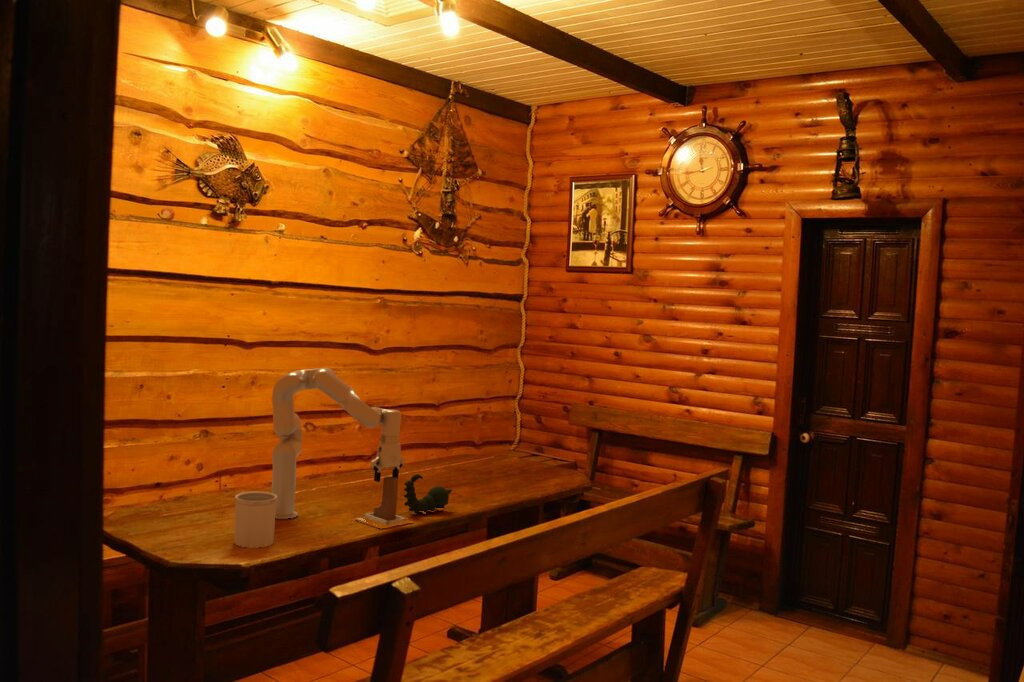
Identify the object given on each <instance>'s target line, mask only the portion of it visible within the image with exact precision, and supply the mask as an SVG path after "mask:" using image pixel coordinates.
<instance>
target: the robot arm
mask: <svg viewBox="0 0 1024 682" xmlns="http://www.w3.org/2000/svg"><path fill="white" fill-rule="evenodd" d="M314 389H318V390H319V391H320V392H322V393H324V394H325V396H327V397H329V398H330V399H331V400H333V401H334V402H336V403H337V404H338V405H339V406H340V407H341V408H342V409H343V410H344V411H346V412H347V413H348V414H349V415H350V416H351V417H352V418H354V419H355V420H356V421H358V422H359V423H360V424H362V425H363V426H364V427H367V428H371V429H373V428H376V427H378V426H380V425H381V431H380V437H378V439H379V441H380V442H379V443H378V447H377V451H376V457H375V458H374V459H373V460H371V461H370V465H371V469H373V470H372V471H373V472H374V473H373V475H374V477H373V482H377V483H380V482H381V475H382V473H381V471H382V469H391V468H393V469H392V473H391V476H392V477H396V478H398V479H399V473H400V470H401V468H402V467H403V464H404V462H405V458H404V457H402V448H401V447H402V446H401V443H400V433H401V430H400V429H401V422H402V412H401V411H400V410H398V409H391V408H390V409H385V408H382V407H378V406H377V407H376V406H369V405H368V404H367V403H365V402H364V401H363V400H362V399H361V398H360V397H359V396H358V394H357V393H356V391H355V390H354V388H353V387H351V386H350V385H349V384H347V383H346V382H344V381H343V380H342V379H340V377H338V376H337V375H336V372H335V371H334V370H333V368H330V367H318V368H311V369H310V368H309V369H300V370H299V369H297V370H294V371H291V372H288V373H287V374H284V375H283V376H281V377H280V378H279V379H278V380H277V381H276V382H275V384H274V385H273V389H272V397H271V398H272V425H273V427H272V428H273V431H274V433H275V434H276V435H277V436H278V440H279V441H278V442H277V443H276V444H275V445H274V447H273V449H272V454H271V455H272V456H271V457H272V458H271V459H272V460H271V461H272V474H271V475H272V476H271V477H272V478H271V492H270V493H274V494H276V495H277V501H276V513H275V518H276V519H275V520H289V519H288V518H291V519H295V518H297V517H298V516H299V515H298V513H299V512H297V511H296V510H295V501H296V499H295V498H296V488H297V487H296V486H297V485H296V483H297V458H298V457H299V456H300V454H301V453H302V450H303V438H302V437H303V436H302V435H303V433H302V422H301V418H300V417H299V414H298V413H296V412H295V403H294V401H295V400H294V394H296V393H297V392H301V391H304V390H305V391H306V390H314ZM297 515H298V516H297ZM296 516H297V517H296ZM294 517H295V518H294Z"/></svg>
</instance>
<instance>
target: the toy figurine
mask: <svg viewBox="0 0 1024 682" xmlns="http://www.w3.org/2000/svg"><path fill="white" fill-rule="evenodd" d="M419 479H421V480H423V475H421V474H419V473H418V474H414V475H412V476H411V478H410V479H409V480H407V481H406V482H404V486H406V487H404V489H403V490H404V492H405V494H404V495H403V497H404V498H405V499H406V501H405V502H404V506H405V507H409V508H408V511H409V512H410V511H412V512H413V513H414V512H415V513H417V514H419V511H424V512H426V511H427V510H431V511H434V510H435V511H437V509H436V508H444V509H445V506H447V505H448V504H449V499H450V496H449V495H450V494H451V492H452V491H453V489H446V488H444V487H443V486H441V485H440V486H434V487H432V488H431V489H429V491H428V492H427V495H424V496H423V497H422V498H420V499H418V498H417V494H416V492H415V491H416V487H415V482H416V481H418V480H419ZM427 512H428V511H427ZM415 513H414V514H415Z"/></svg>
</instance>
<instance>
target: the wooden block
mask: <svg viewBox="0 0 1024 682" xmlns="http://www.w3.org/2000/svg"><path fill="white" fill-rule="evenodd" d="M398 487H399V477H398V478H396V477H392V475H391V476H385V477H383V483H382V494H381V495H382V496H381V497H382V498H381V499H382V500H381V503H380V506H375V507H374V508H373V512H374V516H375V517H378V518H381V519H384V520H387V521H390V520H395V519H396V515H397V504H398V503H397V502H398V489H399V488H398Z"/></svg>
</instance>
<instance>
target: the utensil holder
mask: <svg viewBox="0 0 1024 682" xmlns="http://www.w3.org/2000/svg"><path fill="white" fill-rule="evenodd" d="M234 501H235V506H234V507H235V508H234V510H235V511H234V512H235V513H234V544H235V546H237V545H238V547H239V546H241V547H240V548H244V547H247V548H246V549H260V548H259V547H262V548H266V547H270V546H271V545H273V544H274V537H275V529H276V528H275V527H276V519H275V513H276V501H277V495H276V494H274V493H271V492H269V491H259V490H258V491H257V490H256V491H253V490H252V491H243V492H240V493H239V492H238V493H237V494H235V495H234Z"/></svg>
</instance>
